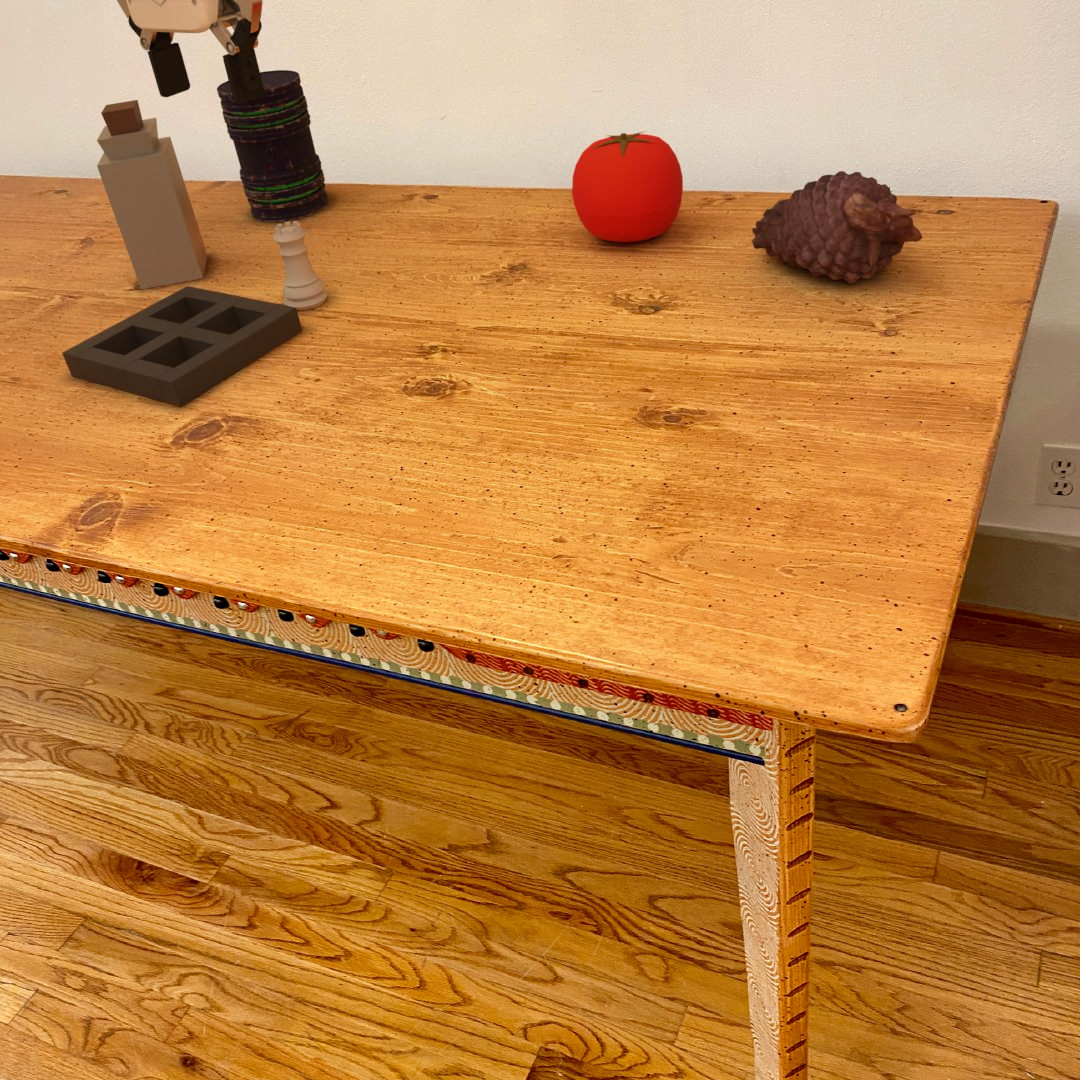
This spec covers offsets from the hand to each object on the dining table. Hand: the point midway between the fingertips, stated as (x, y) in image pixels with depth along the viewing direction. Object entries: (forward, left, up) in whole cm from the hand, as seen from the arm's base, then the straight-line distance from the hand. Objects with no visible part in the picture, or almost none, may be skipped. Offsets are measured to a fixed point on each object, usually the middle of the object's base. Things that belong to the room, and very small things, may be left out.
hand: (212, 96), depth 98 cm
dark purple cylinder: (-20, +23, -21) cm, 37 cm away
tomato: (+26, +27, -21) cm, 43 cm away
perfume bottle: (-19, +3, -21) cm, 28 cm away
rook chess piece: (+3, +2, -21) cm, 21 cm away
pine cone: (+49, +25, -21) cm, 59 cm away
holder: (-1, -11, -21) cm, 23 cm away
